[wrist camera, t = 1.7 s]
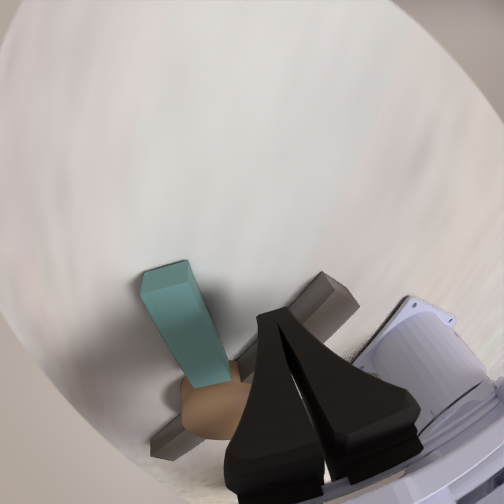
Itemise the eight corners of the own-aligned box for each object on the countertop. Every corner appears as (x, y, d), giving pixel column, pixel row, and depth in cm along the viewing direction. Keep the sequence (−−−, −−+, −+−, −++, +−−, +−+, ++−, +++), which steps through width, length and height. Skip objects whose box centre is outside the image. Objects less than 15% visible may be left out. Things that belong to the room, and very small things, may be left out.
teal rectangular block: (227, 357, 19) (231, 380, 18) (192, 365, 19) (194, 388, 18) (188, 259, 15) (187, 281, 14) (144, 272, 15) (139, 294, 13)
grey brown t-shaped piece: (413, 334, 23) (430, 356, 21) (252, 458, 30) (256, 479, 27) (295, 253, 17) (314, 283, 14) (130, 434, 24) (129, 459, 21)
